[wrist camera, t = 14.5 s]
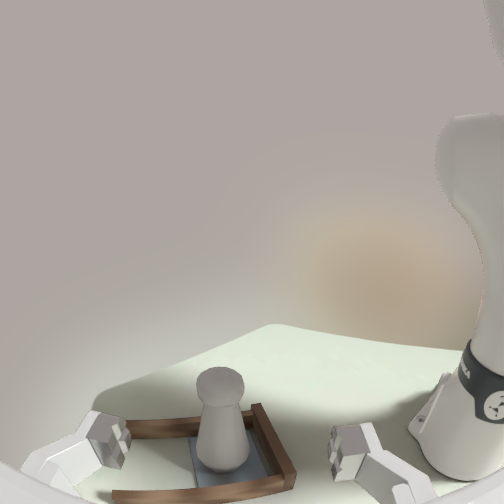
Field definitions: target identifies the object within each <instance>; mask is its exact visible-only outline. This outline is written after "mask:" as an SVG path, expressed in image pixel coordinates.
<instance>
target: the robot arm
mask: <svg viewBox="0 0 504 504" xmlns="http://www.w3.org/2000/svg"><path fill="white" fill-rule="evenodd" d="M483 3H484V7H485V10H486V15H487V19H488V23H489V28H490V33H491V37H492V43H493V46H494V49H495V51H496V53H497V55H498V56H499V58H500V60H501V61H502V62H503V63H504V0H483ZM435 169H436V174H437V179H438V182H439V185H440V187H441V189H442V192H443V193H444V195H445V197H446V198H447V200H448V202H449V203H450V204H451V205H452V207H454V209H456V211H458V213H459V214H460V215H461V216H462V218H463V219H464V220H465V221H466V223H467V224H468V226H469V227H470V229H471V231H472V233H473V235H474V237H475V239H476V242H477V244H478V247H479V250H480V254H481V258H482V264H483V272H484V274H483V275H484V281H483V291H482V298H481V305H480V310H479V314H478V319H477V323H476V327H475V330H474V334H473V337H472V339H471V340H470V341H469V342H468V343H467V346H466V348H465V350H464V352H463V354H462V357H461V362H460V364H459V366H458V367H457V368H456V370H455V371H454V372H453V373H452V374H451V373H448V372H446V371H445V372H443V374H442V376H441V378H440V380H439V383H438V387H437V390H436V391H435V392H434V394H433V395H432V396H431V397H430V399H429V400H428V401H427V402H426V404H425V405H424V406H423V407H422V409H421V410H420V411H419V412H418V413H417V415H416V416H415V417H414V418H413V419H412V420H411V422H410V424H409V425H408V430H409V432H410V433H411V434H412V435H413V436H414V437H415V438H416V439H417V440H418V442H419V443H420V446H421V449H422V451H423V454H424V456H425V457H426V459H427V460H428V462H429V463H430V464H431V465H432V466H433V467H434V468H435V469H436V470H438V471H439V472H441V473H442V474H444V475H446V476H448V477H451V478H454V479H458V480H465V481H473V480H478V481H476V482H474V483H472V484H469V485H467V486H465V487H463V488H460V489H458V490H456V491H453V492H451V493H448V494H446V495H443V496H441V497H438V496H437V494H436V492H435V490H434V487H433V485H432V483H431V481H430V479H429V477H428V475H426V474H425V473H423V472H421V471H420V470H418V469H416V468H415V467H413V466H411V465H410V464H408V463H406V462H405V461H403V460H402V459H400V458H398V457H397V456H395V455H394V454H392V453H391V452H389V451H387V450H384V451H383V449H382V446H381V444H380V441H379V439H378V436H377V434H376V432H375V429H374V427H373V424H372V423H371V422H368V423H362V424H353V425H346V426H337V427H333V429H332V432H331V434H332V438H331V439H330V440H329V444H328V457H329V461H330V462H331V463H332V464H333V465H332V468H331V471H332V476H333V480H334V482H338V481H346V480H354V479H355V481H356V482H357V483H358V484H359V485H360V486H361V487H362V488H364V489H365V490H366V491H367V492H368V493H369V494H370V495H371V496H372V497H374V498H375V499H376V500H377V501H378V502H379V503H380V504H504V468H501V469H499V468H500V467H501V466H503V465H504V115H499V114H493V113H489V114H488V113H487V114H472V115H463V116H455V117H453V118H451V119H450V120H449V121H448V123H447V124H446V125H445V126H444V128H443V130H442V131H441V134H440V136H439V138H438V141H437V145H436V150H435ZM126 424H127V423H126V421H125V418H123V417H119V416H114V415H110V414H106V413H102V412H98V411H94V410H90V411H89V412H88V413H87V415H86V416H85V418H84V420H83V421H82V423H81V424H80V426H79V427H78V429H77V431H76V432H75V434H69V435H67V436H65V437H63V438H61V439H59V440H57V441H55V442H53V443H51V444H48V445H46V446H44V447H42V448H40V449H37V450H35V451H33V452H31V454H30V455H29V457H28V458H27V460H26V461H25V463H24V464H23V466H22V467H21V469H20V470H17V469H15V468H14V467H12V466H10V465H8V464H7V463H5V462H3V461H2V460H0V504H96V503H93V502H90V501H87V500H85V499H82V498H81V496H80V494H79V493H78V491H77V490H76V489H75V488H74V487H75V486H76V485H77V484H79V483H80V482H82V481H83V480H84V479H86V478H87V477H89V476H90V475H91V474H93V473H94V472H96V471H97V470H98V469H100V468H101V467H102V465H103V466H107V467H111V468H115V469H120V470H121V468H122V465H123V463H124V460H125V456H124V453H126V452H127V451H129V448H130V446H131V434H130V431H129V430H128V429H127V428H126V427H125V426H126ZM498 469H499V470H498ZM479 479H480V480H479Z"/></svg>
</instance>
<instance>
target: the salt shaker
mask: <svg viewBox="0 0 504 504" xmlns="http://www.w3.org/2000/svg"><path fill="white" fill-rule="evenodd" d="M196 385H197V393H198V397H199V398H200V399H201V400H202V401H203V402H204V407H203V412H202V417H201V422H200V428H199V433H198V439H197V444H196V451H197V456H198V458H199V459H200V460H201V461H202V462H203V464H204V465H206V466H207V467H209V468H210V469H212V470H213V471H215V472H216V473H218V474H223V473H232V472H235V471H236V470H237V469H238V467H239V466H241V465H242V464H243V463H244V462H245V461H247V458H248V455H249V452H250V447H249V443H248V439H247V435H246V431H245V427H244V422H243V418H242V414H241V410H240V406H239V401H240V400H241V398H242V395H243V393H244V382H243V379H242V376H241V375H240V374H239V373H237V372H236V371H235V370H233V369H230V368H227V367H213V368H209V369H207V370H206V371H204V372H202V373H201V374H200V375H199V377H198V378H197V384H196Z"/></svg>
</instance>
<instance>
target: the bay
mask: <svg viewBox="0 0 504 504" xmlns="http://www.w3.org/2000/svg"><path fill="white" fill-rule="evenodd" d="M241 414H242V418H243V422H244V427H245V429H250V428H253V430H254V432H255V434H256V437H257V439H258V441H259V443H260V446H261V448H262V450H263V452H264V455H265V457H266V459H267V461H268V463H269V466H270V468H271V470H272V472H273V474H274V475H273V476H268V474H267V472H266V469H265V467H264V465H263V463H262V460H261V458H260V456H259V453H258V451H257V449H256V446H255V444H254V442H253V439H252V437H251V435H250V432H249V430H245V431H246V435H247V439H248V443H249V447H250V452H249V455H248V458H247V461H245V462H244V463H243V464H242V465H241V466H239V467H238V469H237V470H236V471H235V472H232V473H223V474H218V473H216V472H215V471H213V470H212V469H210V468H209V467H207V466H206V465H204V464H203V462H202V461H201V460H200V459H199V458H198V456H197V451H196V444H197V439H198V437H189V443H190V448H191V454H192V459H193V464H194V469H195V473H196V478H197V483H198V487H199V488H191V489H178V490H156V491H127V490H112V498H113V500H114V502H115V503H116V504H223V503H230V502H236V501H242V500H247V499H253V498H258V497H262V496H267V495H271V494H275V493H280V492H284V491H287V490H291V489H293V486H294V482H295V478H296V474H297V472H296V470H295V468H294V467H293V465H292V463H291V461H290V459H289V457H288V455H287V453H286V452H285V450H284V448H283V446H282V444H281V442H280V440H279V438H278V436H277V434H276V432H275V431H274V429H273V427H272V425H271V423H270V421H269V419H268V417H267V415H266V413H265V411H264V409H263V407H262V405H261V403H257V404H251V410H248V411H241ZM201 417H202V416H201ZM201 417H190V418H177V419H159V420H125V421H126V423H127V424H126V426H125V427H126V428H127V429H128V430H129V431H130V434H131V439H149V438H171V437H185V436H197V435H198V433H199V428H200V422H201Z"/></svg>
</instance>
